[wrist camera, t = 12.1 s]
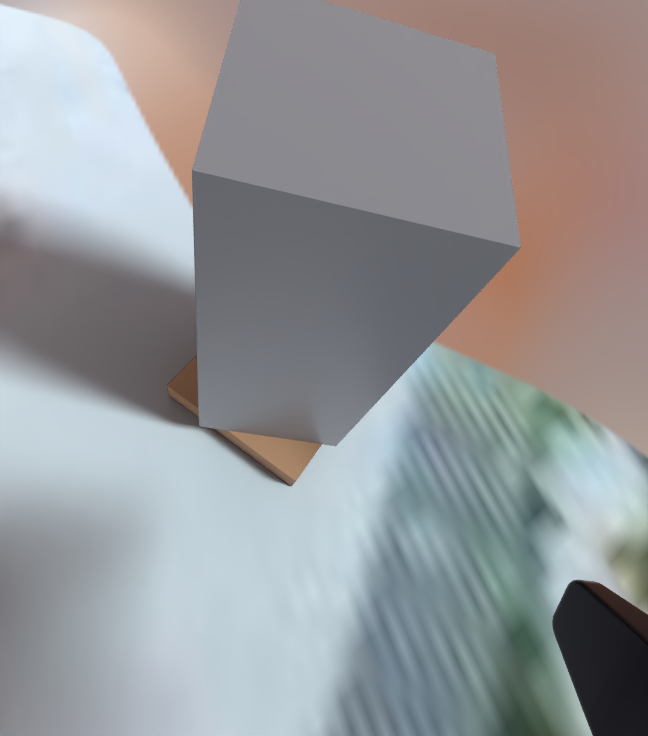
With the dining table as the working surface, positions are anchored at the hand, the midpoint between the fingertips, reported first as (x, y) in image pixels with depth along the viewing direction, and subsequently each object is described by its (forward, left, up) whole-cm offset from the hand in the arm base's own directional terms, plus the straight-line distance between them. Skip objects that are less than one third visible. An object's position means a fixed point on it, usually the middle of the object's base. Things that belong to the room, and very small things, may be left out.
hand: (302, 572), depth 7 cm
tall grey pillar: (+5, +6, -9) cm, 12 cm away
